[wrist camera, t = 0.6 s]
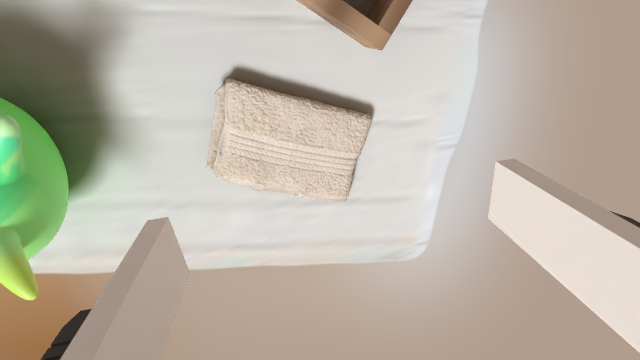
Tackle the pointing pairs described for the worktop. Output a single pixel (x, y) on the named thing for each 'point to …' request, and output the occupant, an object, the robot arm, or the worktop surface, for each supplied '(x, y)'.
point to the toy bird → (27, 196)
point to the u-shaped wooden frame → (362, 19)
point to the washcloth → (285, 142)
